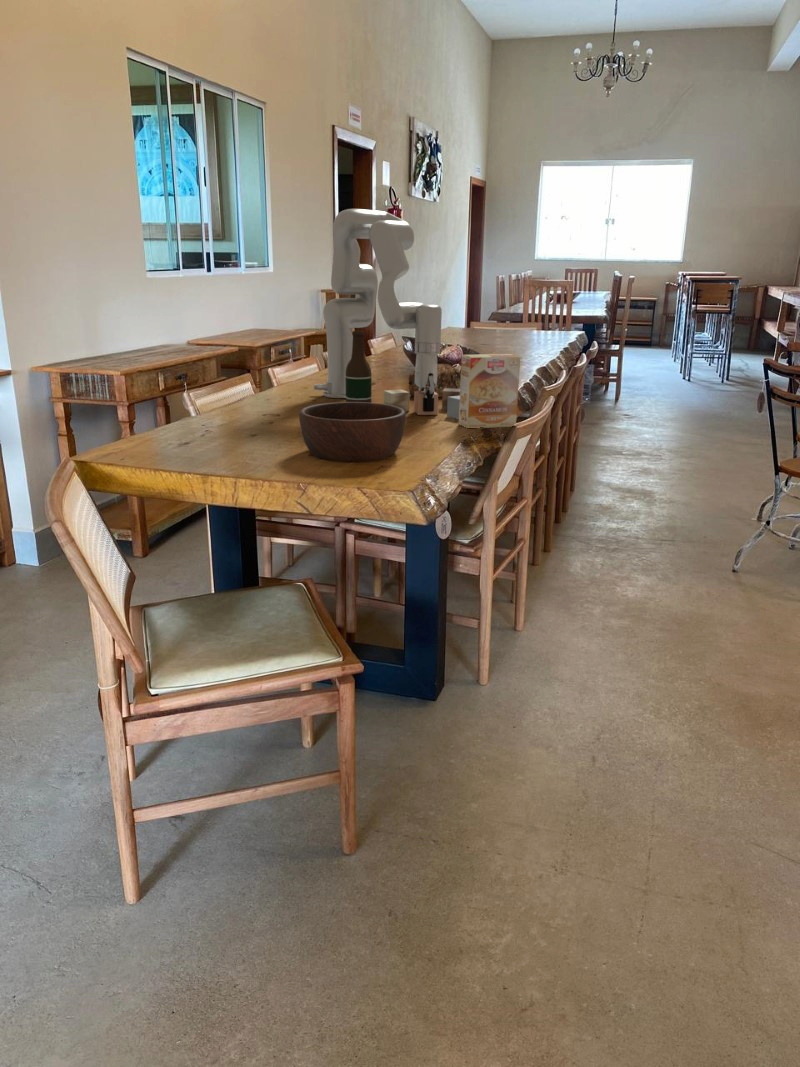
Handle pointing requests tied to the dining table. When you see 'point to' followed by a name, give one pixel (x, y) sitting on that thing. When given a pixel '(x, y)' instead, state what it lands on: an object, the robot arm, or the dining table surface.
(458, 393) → the walnut block
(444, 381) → the bread
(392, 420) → the wooden bowl
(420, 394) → the terracotta block
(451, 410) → the slate block
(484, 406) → the coffeecake box
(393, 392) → the beech block
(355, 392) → the beer bottle
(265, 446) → the dining table surface
